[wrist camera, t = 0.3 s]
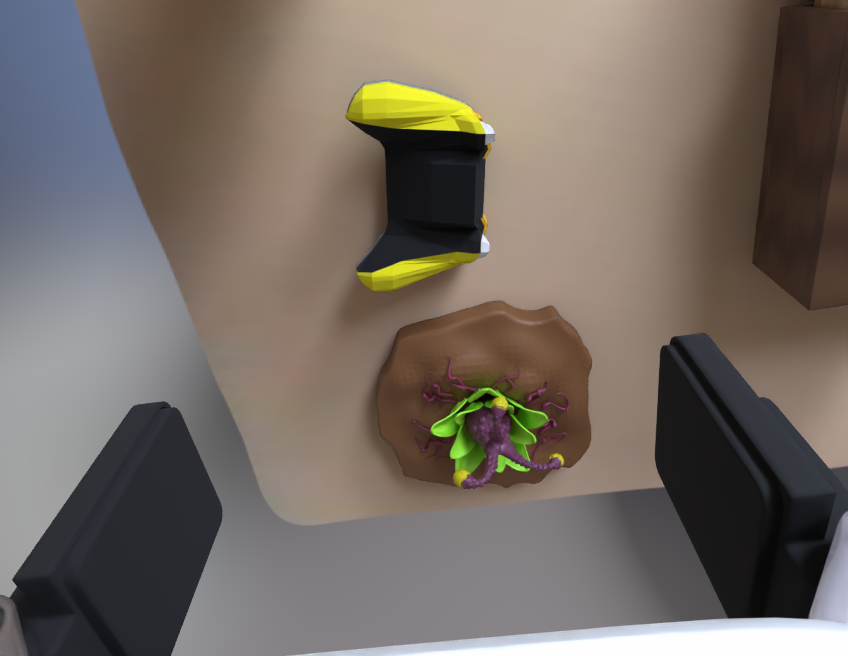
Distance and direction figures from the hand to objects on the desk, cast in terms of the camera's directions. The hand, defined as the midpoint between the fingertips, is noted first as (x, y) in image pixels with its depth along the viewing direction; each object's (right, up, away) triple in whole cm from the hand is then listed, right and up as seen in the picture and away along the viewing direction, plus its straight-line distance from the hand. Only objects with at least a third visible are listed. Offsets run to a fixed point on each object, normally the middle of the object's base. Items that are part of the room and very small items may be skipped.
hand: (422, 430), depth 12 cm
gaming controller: (0, +13, +34) cm, 37 cm away
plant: (+5, -4, +44) cm, 45 cm away
